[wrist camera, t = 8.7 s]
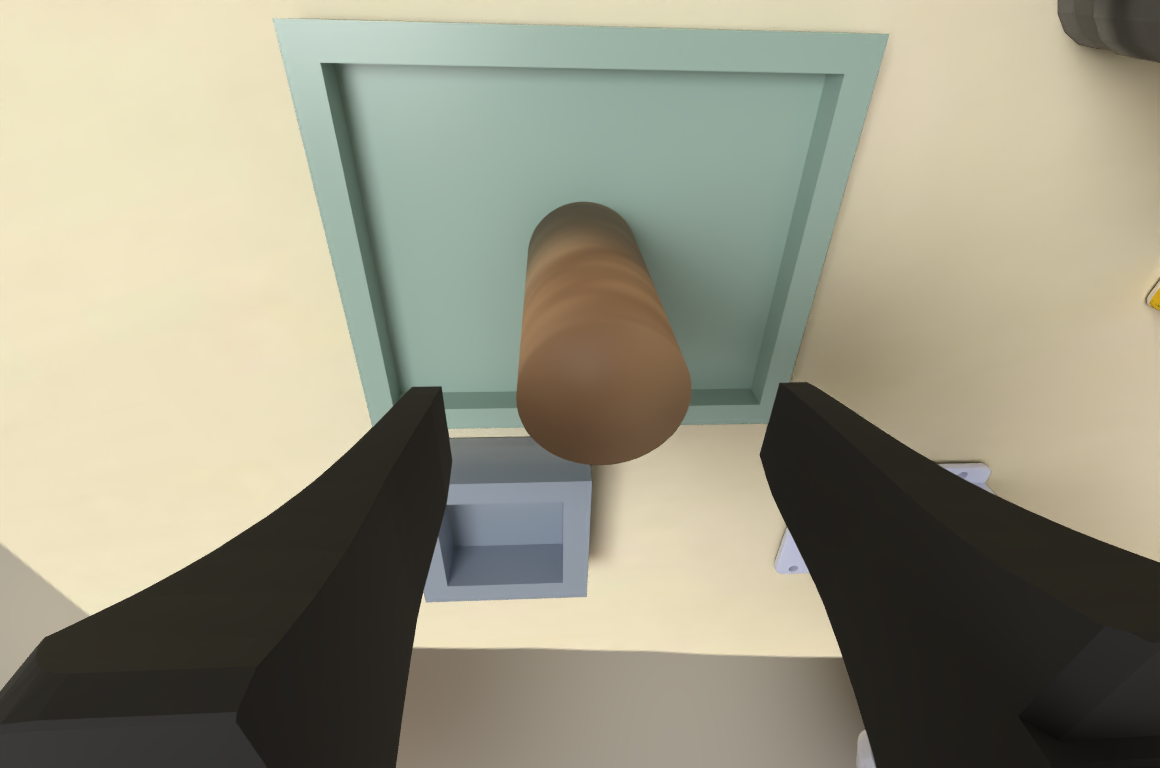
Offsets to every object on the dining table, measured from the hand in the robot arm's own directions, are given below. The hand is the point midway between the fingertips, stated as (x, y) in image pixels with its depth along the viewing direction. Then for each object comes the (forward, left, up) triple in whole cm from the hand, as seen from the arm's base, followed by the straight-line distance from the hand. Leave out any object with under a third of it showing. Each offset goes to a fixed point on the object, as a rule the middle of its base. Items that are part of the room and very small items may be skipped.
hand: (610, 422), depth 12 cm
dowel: (0, 0, -10) cm, 10 cm away
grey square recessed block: (+4, +13, -10) cm, 17 cm away
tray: (0, 0, -10) cm, 10 cm away
